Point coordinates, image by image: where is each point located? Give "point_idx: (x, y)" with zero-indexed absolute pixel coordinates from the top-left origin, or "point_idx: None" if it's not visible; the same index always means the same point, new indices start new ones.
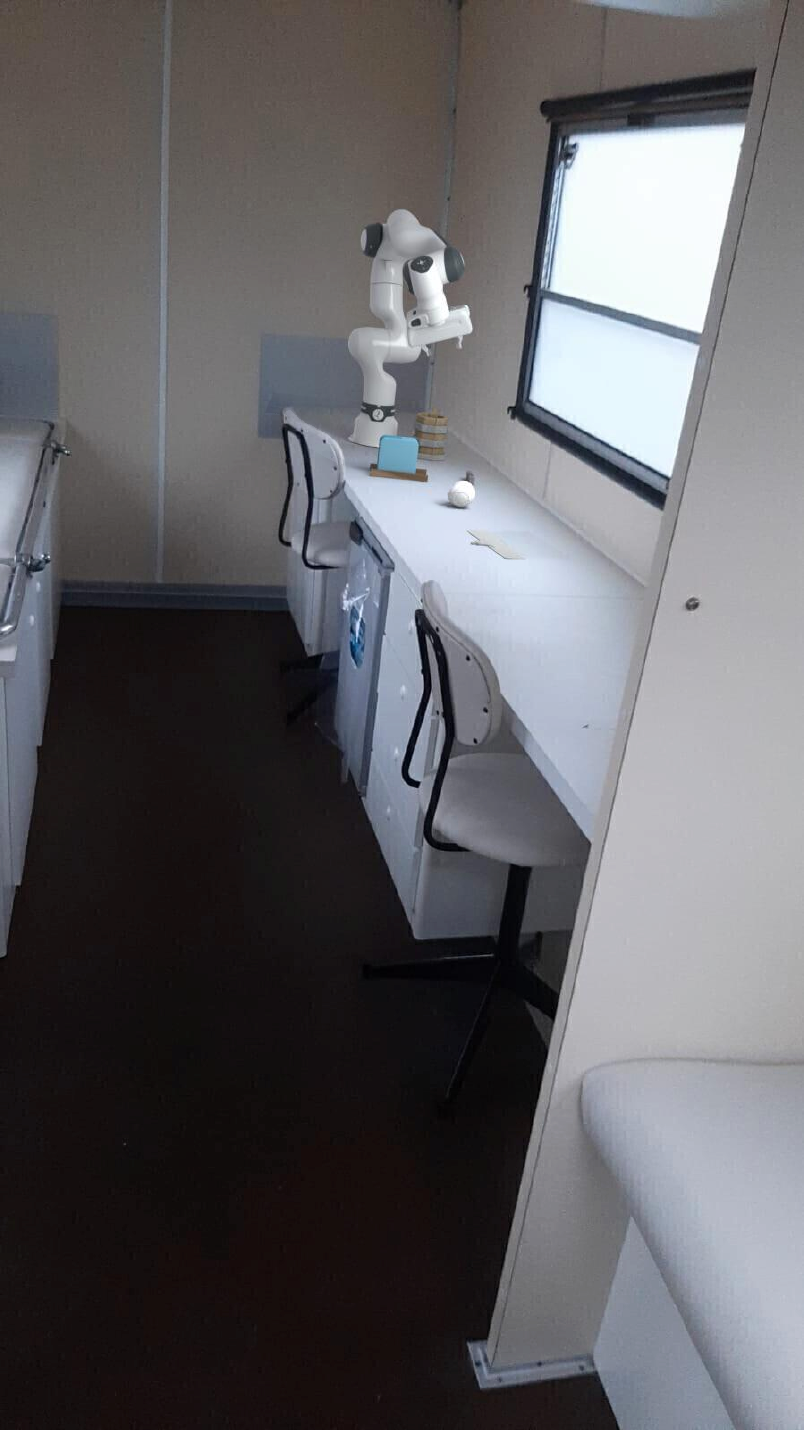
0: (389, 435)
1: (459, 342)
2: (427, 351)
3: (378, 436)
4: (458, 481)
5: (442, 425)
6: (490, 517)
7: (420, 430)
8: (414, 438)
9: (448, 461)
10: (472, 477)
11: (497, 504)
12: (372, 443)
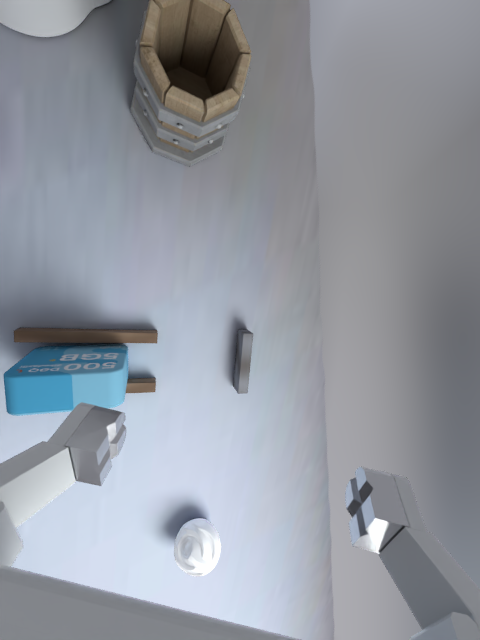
0: (30, 379)
1: (395, 576)
2: (67, 483)
3: (25, 4)
4: (193, 563)
5: (225, 111)
6: (234, 557)
7: (155, 112)
8: (112, 374)
9: (229, 158)
10: (244, 389)
11: (261, 478)
12: (14, 21)
